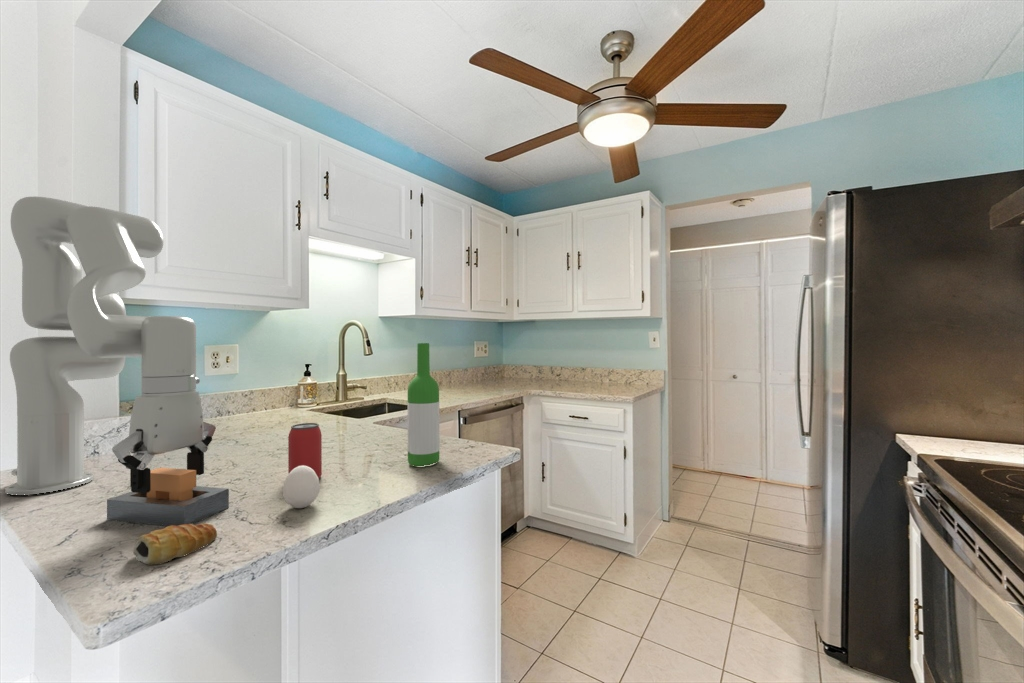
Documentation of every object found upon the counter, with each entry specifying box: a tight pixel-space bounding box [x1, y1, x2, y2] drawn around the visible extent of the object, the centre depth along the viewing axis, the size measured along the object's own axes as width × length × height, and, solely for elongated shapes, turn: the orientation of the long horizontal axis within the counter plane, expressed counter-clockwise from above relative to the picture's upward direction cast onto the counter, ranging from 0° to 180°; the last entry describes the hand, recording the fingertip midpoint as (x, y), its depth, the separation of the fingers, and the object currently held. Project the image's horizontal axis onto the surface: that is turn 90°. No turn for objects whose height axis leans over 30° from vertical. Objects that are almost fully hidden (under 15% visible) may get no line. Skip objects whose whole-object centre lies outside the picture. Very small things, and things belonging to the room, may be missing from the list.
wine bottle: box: [407, 342, 441, 466], centre depth 105 cm, size 8×8×30 cm
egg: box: [282, 465, 321, 509], centre depth 77 cm, size 6×6×8 cm
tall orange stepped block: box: [147, 467, 197, 501], centre depth 75 cm, size 8×3×8 cm, turn 78°
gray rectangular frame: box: [106, 485, 230, 527], centre depth 75 cm, size 16×8×4 cm, turn 79°
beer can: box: [287, 422, 323, 479], centre depth 93 cm, size 7×7×12 cm
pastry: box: [132, 522, 218, 566], centre depth 62 cm, size 9×7×4 cm
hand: (169, 482), depth 75 cm, fingers open, 9 cm apart
